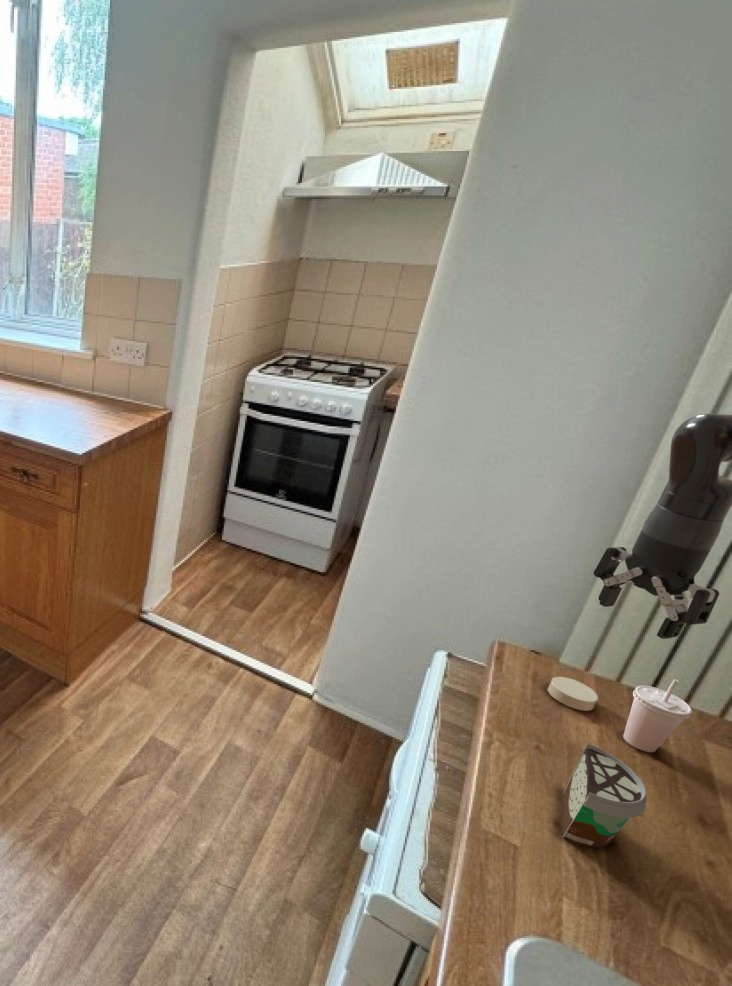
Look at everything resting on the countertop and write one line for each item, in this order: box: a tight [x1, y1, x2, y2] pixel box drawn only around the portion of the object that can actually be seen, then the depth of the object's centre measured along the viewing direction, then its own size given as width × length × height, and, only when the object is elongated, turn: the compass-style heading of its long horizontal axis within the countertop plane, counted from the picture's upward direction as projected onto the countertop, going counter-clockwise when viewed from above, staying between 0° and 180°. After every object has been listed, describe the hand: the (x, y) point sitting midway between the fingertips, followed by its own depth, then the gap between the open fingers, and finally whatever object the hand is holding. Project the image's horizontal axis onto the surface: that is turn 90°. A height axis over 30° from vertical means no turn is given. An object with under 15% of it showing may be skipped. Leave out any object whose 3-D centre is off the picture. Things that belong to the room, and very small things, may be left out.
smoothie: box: [622, 678, 693, 753], centre depth 97 cm, size 6×6×14 cm
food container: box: [562, 742, 648, 848], centre depth 83 cm, size 12×6×10 cm, turn 137°
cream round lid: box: [547, 676, 599, 712], centre depth 108 cm, size 6×6×3 cm
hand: (633, 620), depth 100 cm, fingers open, 8 cm apart
